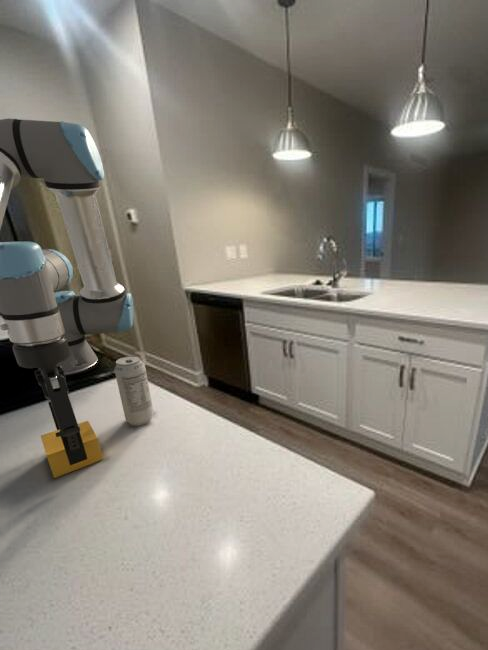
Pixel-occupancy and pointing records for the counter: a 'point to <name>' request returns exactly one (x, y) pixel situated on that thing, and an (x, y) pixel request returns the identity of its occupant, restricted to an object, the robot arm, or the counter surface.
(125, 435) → the counter surface
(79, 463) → the block
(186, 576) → the counter surface
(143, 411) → the energy drink can
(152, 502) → the counter surface
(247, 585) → the counter surface
